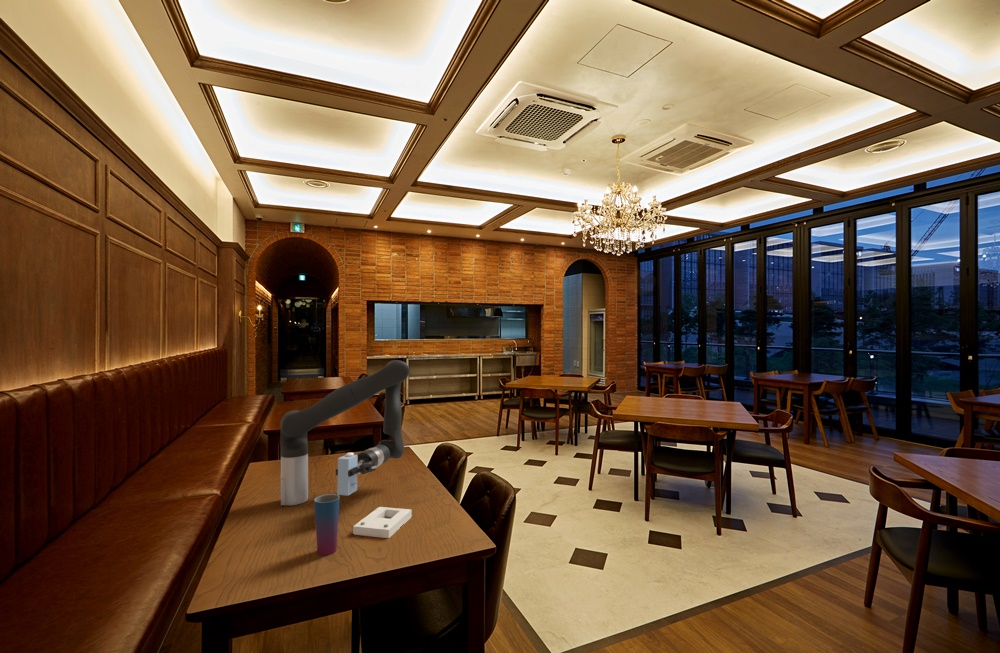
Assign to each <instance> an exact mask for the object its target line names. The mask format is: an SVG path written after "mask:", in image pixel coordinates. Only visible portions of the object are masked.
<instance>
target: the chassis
mask: <svg viewBox="0 0 1000 653" xmlns="http://www.w3.org/2000/svg"><path fill="white" fill-rule="evenodd" d="M412 510H413V509H410V508H408V509H407V508H399V507H398V508H396V507H386V506H378V507H377V508H376V509H374V510H373V511H372V512H370V513H369V514H368V515H366V516H365V517H364V518H362V519H361V520H360V521H359V522H357V523H356V524H354V525H353V526H352V527H353V530H352V535H353V534H354V535H353V536H356V535H357V536H364V537H375V538H383V539H390V538H391V537H392V536H393V535H394V534H395V533H396V532H397V531H399V530H400V527H401V526H402V525H403V524H404V525H405V524H406V523H407V522H408V521H409V520H411V519H412V516H413V515H412V513H413V512H412ZM404 525H403V526H404ZM403 526H402V527H403ZM402 527H401V528H402Z"/></svg>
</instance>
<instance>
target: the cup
mask: <svg viewBox="0 0 1000 653" xmlns="http://www.w3.org/2000/svg"><path fill="white" fill-rule="evenodd" d="M340 496H341V495H337V494H336V493H328V494H327V493H326V494H322V495H319V496H316V497H315V498H314V500H313V503H314V507H313V508H314V519H315V533H316V549H317V555H318V556H329V555H333V554H335V553H336V552H337V548H338V546H337V545H338V544H337V543H338V531H339V513H340V512H339V511H340Z"/></svg>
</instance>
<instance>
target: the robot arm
mask: <svg viewBox="0 0 1000 653" xmlns="http://www.w3.org/2000/svg"><path fill="white" fill-rule="evenodd" d="M409 376H410V367H409V365H408V363H406V362H405V361H402V360H401V359H400V360H396V359H395V360H390V361H388V362H387V363H386V364H385V365H384V367H383V368H382V369H380V370H378V371H376V372H374V373H372V374H371V375H368V376H365V377H362V378H359V379H356V380H353V381H351V382H349V383H346V384H344V385H342V386H340V387H338V388H336V389H335V390H333V391H331V392H330V393H329V394H327V395H326V396H324V397H323V398H322V399H321V400H320V401H318V402H316V403H315V404H313V405H311V406H308V407H307V408H304V409H302V410H297V409H294V410H289V411H288V412H286V413H284V414H283V416H282V417H281V419H280V425H279V426H280V427H279V428H280V429H279V430H280V440H279V441H280V443H279V444H280V506H281V507H282V505H283V506H297V505H302V504H303V503H306V502H308V500H309V443H308V432H309V431H311V430H313V429H314V428H316V427H317V426H319V425H320V424H322V423H323V422H325V421H327V420H329V419H332V418H334V417H336V416H339V415H341V414H342V413H343V414H344V413H345V412H348V411H349V410H351V409H353V408H354V407H356V406H358V405H360V404H362V403H364V402H366V401H367V400H369V399H371V398H372V397H373V396H375V395H376V394H378V393H380V392H382V391H383V390H384V392H385V394H384V399H385V400H384V412H383V413H384V414H383V426H382V427H383V428H382V429H383V430H382V431H383V433H384V434H385V435H388V436H390V437H391V439H383V440H380V441H379V442H378V443H377V444H376V446H374V447H369V448H368V449H364V451H361V452H359V453H357V455H358V463H357V466H356V467H354V468H352V469H350V470H349V471H348V477H351V476H353V475H355V474H357V475H360V474H361V475H365V474H369V473H370V472H373V471H377V470H376V469H377V468H378V467H379V466H381V465H383V464H384V463H386V462H387V461H388V460H389V459H395V460H397V459H401V457H402V456H403V455H404V452H405V445H404V440H403V435H402V415H403V414H402V413H403V412H402V402H401V390H402V383H403V382H404V381H405V380H406V379H407V378H408V377H409ZM335 475H336V476H337V477H338V468H336V469H335Z"/></svg>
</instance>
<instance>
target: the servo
mask: <svg viewBox="0 0 1000 653" xmlns="http://www.w3.org/2000/svg"><path fill="white" fill-rule="evenodd" d="M357 463H358V454H355V453H354V452H347V453H346V454H345V455H342V456H340V457H338V458H337V469H338V476H337V482H336V485H337V488H336V489H337V495H339V496H350V495H351V494H353V493H355V492H357V491H358V485H359V482H358V474H355V475H353V476H351V477H348V471H349V470H350V469H352V468H354V467H356V466H357Z"/></svg>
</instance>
